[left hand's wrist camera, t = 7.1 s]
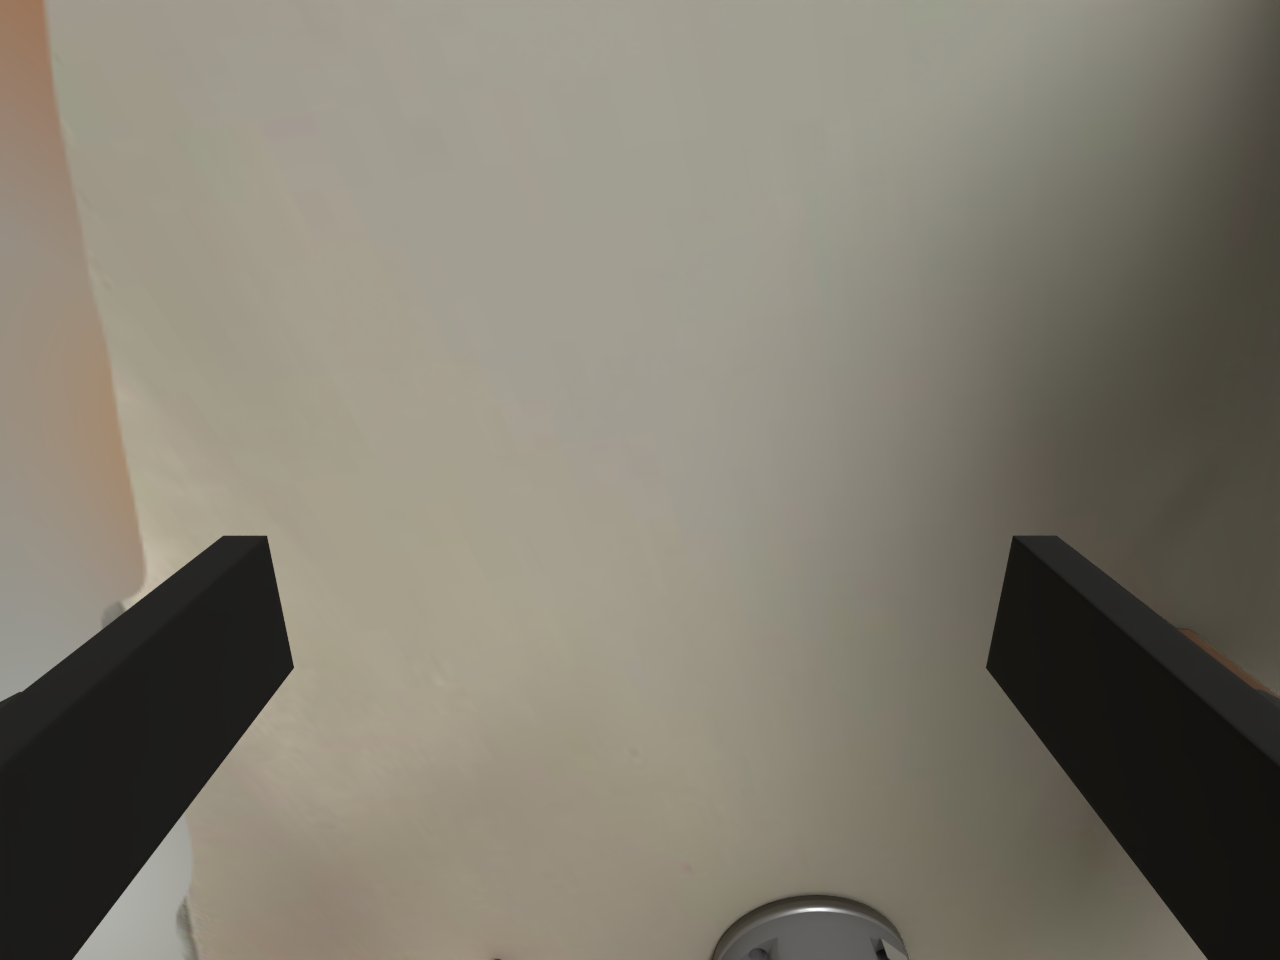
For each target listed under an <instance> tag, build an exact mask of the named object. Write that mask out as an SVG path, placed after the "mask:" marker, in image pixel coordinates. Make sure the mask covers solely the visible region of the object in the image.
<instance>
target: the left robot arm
mask: <svg viewBox="0 0 1280 960" xmlns="http://www.w3.org/2000/svg"><path fill="white" fill-rule="evenodd" d="M293 668H294V666H293V661H292V656H291V651H290V646H289V641H288V636H287V631H286V627H285V622H284V617H283V612H282V607H281V602H280V597H279V592H278V587H277V583H276V578H275V573H274V568H273V563H272V558H271V553H270V548H269V544H268V539H267V536H222V537H221V538H220V539H219V540H217V541H216V542H215V543H213V544H212V545H211V546H210V547H208V548H207V549H206V550H204V551H203V552H202V553H201V554H199V555H198V556H197V557H195V558H194V559H193V560H191V561H190V562H189V563H188V564H186V565H185V566H184V567H182V568H181V569H180V570H179V571H177V572H176V573H175V574H173V575H172V576H171V577H170V578H168V579H167V580H166V581H164V582H163V583H162V584H161V585H159V586H158V587H157V588H155V589H154V590H153V591H152V592H150V593H149V594H148V595H146V596H145V597H144V598H143V599H141V600H140V601H139V602H137V603H136V604H135V605H133V606H132V607H131V608H130V609H128V610H127V611H126V612H124V613H123V614H122V615H121V616H119V617H118V618H117V619H115V620H114V621H113V622H112V623H110V624H109V625H108V626H106V627H105V628H104V629H103V630H101V631H100V632H99V633H97V634H96V635H95V636H94V637H92V638H91V639H90V640H88V641H87V642H86V643H85V644H83V645H82V646H81V647H79V648H78V649H77V650H76V651H74V652H73V653H72V654H70V655H69V656H68V657H67V658H65V659H64V660H63V661H61V662H60V663H59V664H57V665H56V666H55V667H54V668H52V669H51V670H50V671H48V672H47V673H46V674H45V675H43V676H42V677H41V678H39V679H38V680H37V681H36V682H34V683H33V684H32V685H30V686H29V687H28V688H27V689H25V690H24V691H23V692H19V693H17V694H15V695H13V696H11V697H9V698H7V699H5V700H3V701H1V702H0V960H72V959H73V958H74V956H75V955H76V954H77V953H78V951H79V950H80V949H81V947H82V946H83V945H84V943H85V942H86V941H87V939H88V938H89V937H90V935H91V934H92V933H93V931H94V930H95V929H96V927H97V926H98V925H99V924H100V922H101V921H102V920H103V918H104V917H105V916H106V914H107V913H108V912H109V910H110V909H111V908H112V906H113V905H114V904H115V903H116V901H117V900H118V899H119V897H120V896H121V895H122V893H123V892H124V891H125V889H126V888H127V887H128V885H129V884H130V883H131V881H132V880H133V879H134V877H135V876H136V875H137V873H138V872H139V871H140V870H141V868H142V867H143V866H144V864H145V863H146V862H147V860H148V859H149V858H150V856H151V855H152V854H153V852H154V851H155V850H156V849H157V847H158V846H159V845H160V843H161V842H162V841H163V839H164V838H165V837H166V835H167V834H168V833H169V831H170V830H171V829H172V828H173V826H174V825H175V823H176V822H177V821H178V820H179V818H180V817H181V816H182V814H183V813H184V812H185V810H186V809H187V808H188V806H189V805H190V804H191V803H192V801H193V800H194V799H195V797H196V796H197V795H198V793H199V792H200V791H201V789H202V788H203V787H204V785H205V784H206V783H207V781H208V780H209V779H210V778H211V776H212V775H213V774H214V772H215V771H216V770H217V768H218V767H219V766H220V764H221V763H222V762H223V760H224V759H225V758H226V756H227V755H228V754H229V753H230V751H231V750H232V749H233V747H234V746H235V745H236V743H237V742H238V741H239V739H240V738H241V737H242V735H243V734H244V733H245V731H246V730H247V729H248V728H249V726H250V725H251V724H252V722H253V721H254V720H255V718H256V717H257V716H258V714H259V713H260V712H261V710H262V709H263V708H264V706H265V705H266V704H267V703H268V701H269V700H270V699H271V697H272V696H273V695H274V693H275V692H276V691H277V689H278V688H279V687H280V685H281V684H282V683H283V681H284V680H285V679H286V678H287V676H288V675H289V674H290V672H291V671H292V670H293ZM986 668H987V670H988V671H989V672H990V674H991V675H992V676H993V678H994V679H995V680H996V681H997V683H998V684H999V685H1000V687H1001V688H1002V689H1003V691H1004V692H1005V693H1006V695H1007V696H1008V697H1009V699H1010V700H1011V701H1012V703H1013V704H1014V705H1015V706H1016V708H1017V709H1018V710H1019V712H1020V713H1021V714H1022V716H1023V717H1024V718H1025V720H1026V721H1027V722H1028V724H1029V725H1030V726H1031V728H1032V729H1033V730H1034V731H1035V733H1036V734H1037V735H1038V737H1039V738H1040V739H1041V741H1042V742H1043V743H1044V745H1045V746H1046V747H1047V749H1048V750H1049V751H1050V753H1051V754H1052V755H1053V756H1054V758H1055V759H1056V760H1057V762H1058V763H1059V764H1060V766H1061V767H1062V768H1063V770H1064V771H1065V772H1066V774H1067V775H1068V776H1069V778H1070V779H1071V780H1072V781H1073V783H1074V784H1075V785H1076V787H1077V788H1078V789H1079V791H1080V792H1081V793H1082V795H1083V796H1084V797H1085V799H1086V800H1087V801H1088V803H1089V804H1090V805H1091V806H1092V808H1093V809H1094V810H1095V812H1096V813H1097V814H1098V816H1099V817H1100V818H1101V820H1102V821H1103V822H1104V824H1105V825H1106V826H1107V828H1108V829H1109V830H1110V831H1111V833H1112V834H1113V835H1114V837H1115V838H1116V839H1117V841H1118V842H1119V843H1120V845H1121V846H1122V847H1123V849H1124V850H1125V851H1126V853H1127V854H1128V855H1129V856H1130V858H1131V859H1132V860H1133V862H1134V863H1135V864H1136V866H1137V867H1138V868H1139V870H1140V871H1141V872H1142V874H1143V875H1144V876H1145V878H1146V879H1147V880H1148V881H1149V883H1150V884H1151V885H1152V887H1153V888H1154V889H1155V891H1156V892H1157V893H1158V895H1159V896H1160V897H1161V899H1162V900H1163V901H1164V903H1165V904H1166V905H1167V906H1168V908H1169V909H1170V910H1171V912H1172V913H1173V914H1174V916H1175V917H1176V918H1177V920H1178V921H1179V922H1180V924H1181V925H1182V926H1183V928H1184V929H1185V930H1186V931H1187V933H1188V934H1189V935H1190V937H1191V938H1192V939H1193V941H1194V942H1195V943H1196V945H1197V946H1198V947H1199V949H1200V950H1201V951H1202V953H1203V954H1204V955H1205V956H1206V958H1207V959H1208V960H1280V699H1279V698H1277V697H1275V696H1273V695H1271V694H1269V693H1267V692H1265V691H1263V690H1255V689H1253V688H1252V687H1251V686H1250V685H1248V684H1247V683H1246V682H1244V681H1243V680H1242V679H1241V678H1239V677H1238V676H1237V675H1235V674H1234V673H1233V672H1232V671H1230V670H1229V669H1228V668H1226V667H1225V666H1224V665H1223V664H1221V663H1220V662H1219V661H1217V660H1216V659H1215V658H1214V657H1212V656H1211V655H1210V654H1208V653H1207V652H1206V651H1204V650H1203V649H1202V648H1201V647H1199V646H1198V645H1197V644H1195V643H1194V642H1193V641H1192V640H1190V639H1189V638H1188V637H1186V636H1185V635H1184V634H1183V633H1181V632H1180V631H1179V630H1177V629H1176V628H1175V627H1174V626H1172V625H1171V624H1170V623H1168V622H1167V621H1166V620H1165V619H1163V618H1162V617H1161V616H1159V615H1158V614H1157V613H1156V612H1154V611H1153V610H1152V609H1150V608H1149V607H1148V606H1146V605H1145V604H1144V603H1143V602H1141V601H1140V600H1139V599H1137V598H1136V597H1135V596H1134V595H1132V594H1131V593H1130V592H1128V591H1127V590H1126V589H1125V588H1123V587H1122V586H1121V585H1119V584H1118V583H1117V582H1116V581H1114V580H1113V579H1112V578H1110V577H1109V576H1108V575H1107V574H1105V573H1104V572H1103V571H1101V570H1100V569H1099V568H1098V567H1096V566H1095V565H1094V564H1092V563H1091V562H1090V561H1089V560H1087V559H1086V558H1085V557H1083V556H1082V555H1081V554H1079V553H1078V552H1077V551H1076V550H1074V549H1073V548H1072V547H1070V546H1069V545H1068V544H1067V543H1065V542H1064V541H1063V540H1061V539H1060V538H1059V537H1058V536H1013V539H1012V544H1011V548H1010V553H1009V558H1008V563H1007V568H1006V573H1005V578H1004V583H1003V587H1002V592H1001V597H1000V602H999V607H998V612H997V617H996V622H995V627H994V631H993V636H992V641H991V646H990V651H989V656H988V661H987V666H986ZM713 960H909V957H908V954H907V951H906V949H905V946H904V943H903V940H902V938H901V936H900V934H899V932H898V931H897V929H896V928H895V926H894V925H893V924H892V923H891V922H890V921H889V920H888V919H887V918H886V917H885V916H883V915H882V914H881V913H879V912H878V911H876V910H874V909H873V908H871V907H869V906H866V905H864V904H862V903H859V902H856V901H853V900H849V899H846V898H840V897H834V896H820V895H814V896H800V897H793V898H788V899H784V900H780V901H776V902H773V903H770V904H767V905H765V906H763V907H760V908H758V909H756V910H754V911H752V912H751V913H749V914H747V915H746V916H744V917H743V918H741V919H740V920H739V921H737V922H736V923H735V924H734V925H733V926H732V927H731V928H730V929H729V930H728V931H727V932H726V933H725V935H724V936H723V937H722V939H721V940H720V942H719V944H718V946H717V948H716V950H715V953H714V957H713Z"/></svg>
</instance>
